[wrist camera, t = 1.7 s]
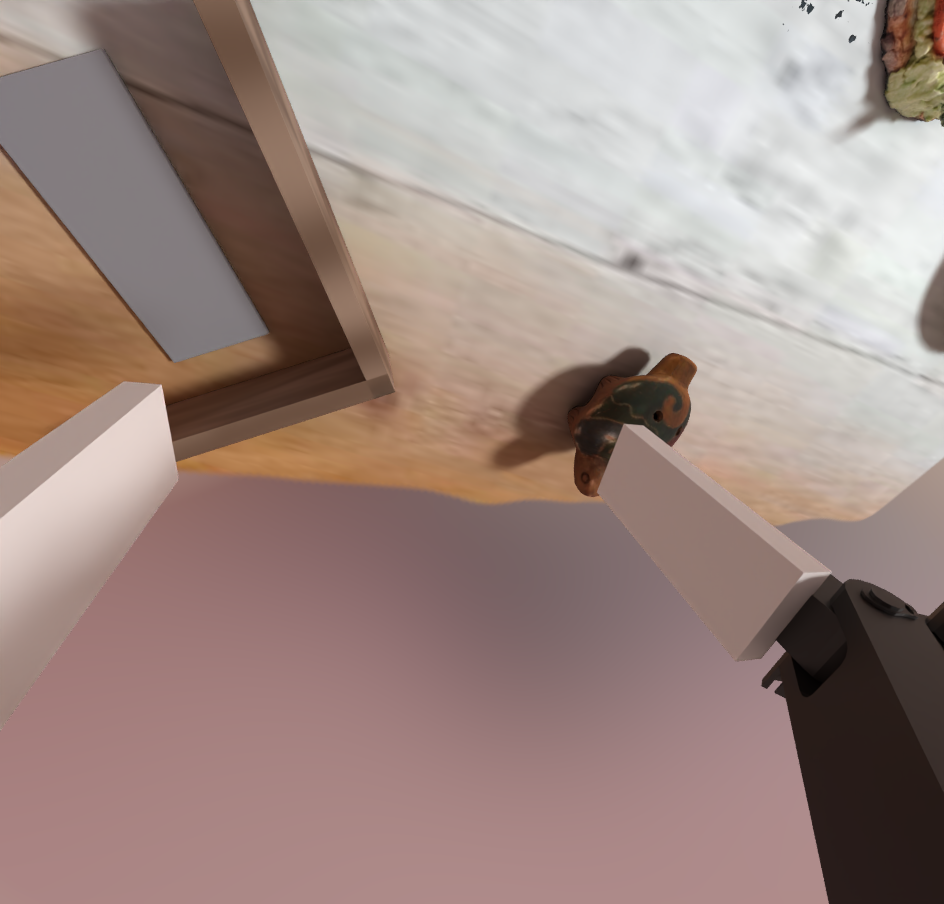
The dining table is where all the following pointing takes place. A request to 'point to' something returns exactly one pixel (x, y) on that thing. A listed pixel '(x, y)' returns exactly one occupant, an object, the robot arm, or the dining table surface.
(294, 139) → the corner walls
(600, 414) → the decorative turtle
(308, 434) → the dining table surface
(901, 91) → the plated dish
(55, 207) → the grey mat
